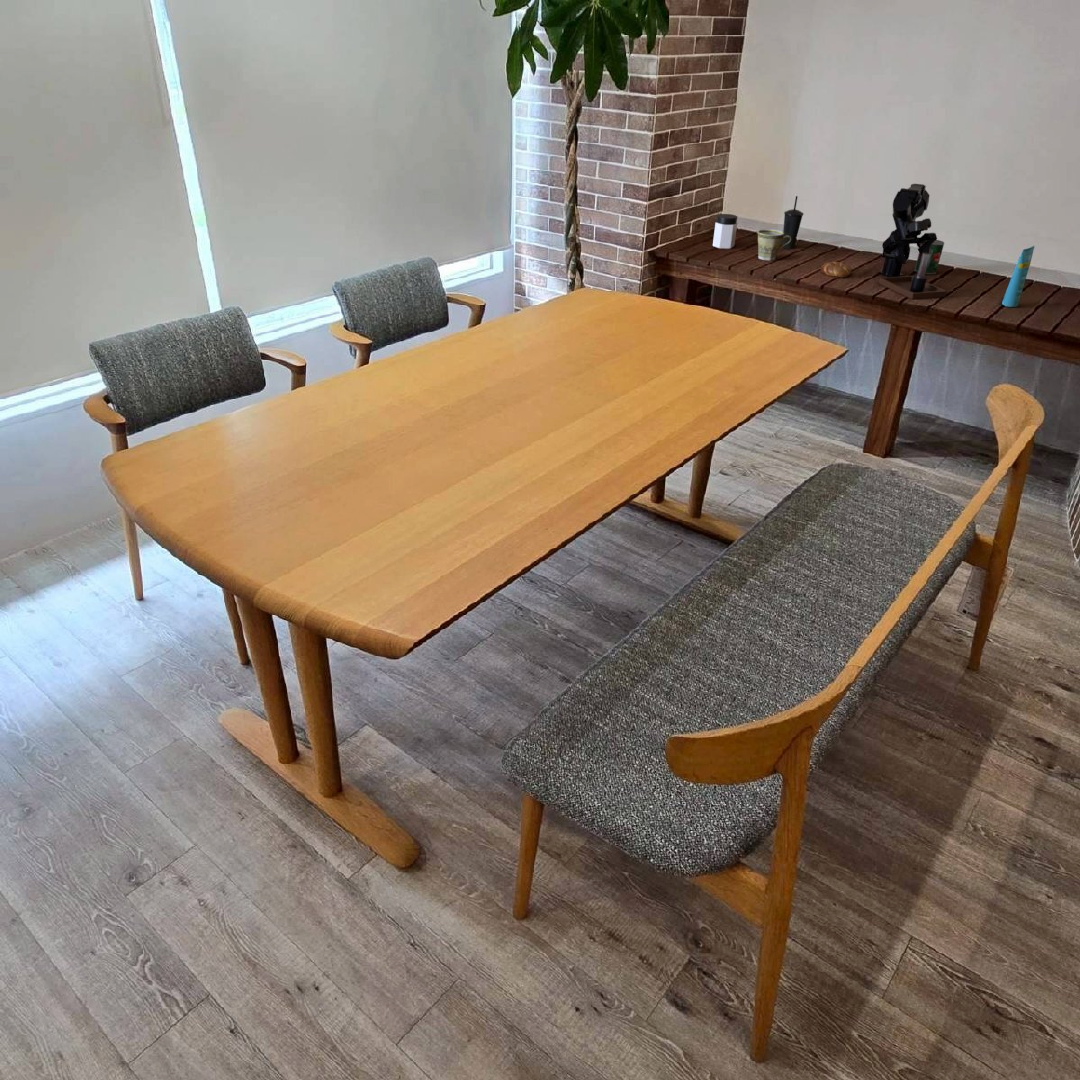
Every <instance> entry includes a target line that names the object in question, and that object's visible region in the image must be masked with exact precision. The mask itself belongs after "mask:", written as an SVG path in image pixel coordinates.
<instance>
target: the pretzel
mask: <svg viewBox="0 0 1080 1080" xmlns="http://www.w3.org/2000/svg"><path fill="white" fill-rule="evenodd" d="M820 271H821V273H822V274H825V275H827V276H830V277H837V278H842V279H843V278H846V277H848V276H851V274H852V267H851V266H850V265H848V264H847V263H844V262H840V261H832V262H831V261H826V262H825V263H823V264H822V265H821V267H820Z"/></svg>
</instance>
